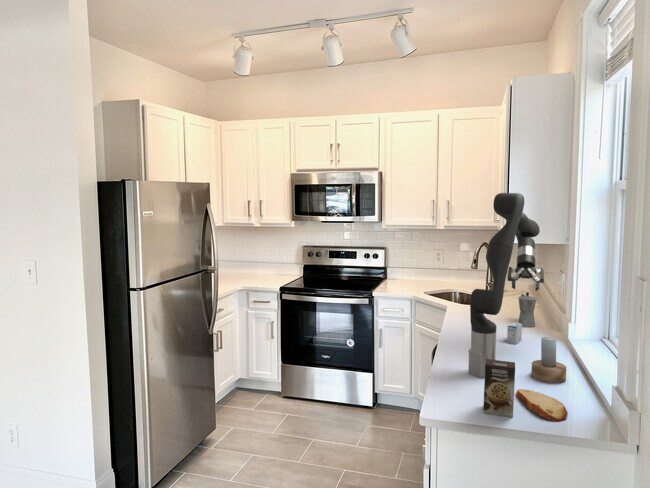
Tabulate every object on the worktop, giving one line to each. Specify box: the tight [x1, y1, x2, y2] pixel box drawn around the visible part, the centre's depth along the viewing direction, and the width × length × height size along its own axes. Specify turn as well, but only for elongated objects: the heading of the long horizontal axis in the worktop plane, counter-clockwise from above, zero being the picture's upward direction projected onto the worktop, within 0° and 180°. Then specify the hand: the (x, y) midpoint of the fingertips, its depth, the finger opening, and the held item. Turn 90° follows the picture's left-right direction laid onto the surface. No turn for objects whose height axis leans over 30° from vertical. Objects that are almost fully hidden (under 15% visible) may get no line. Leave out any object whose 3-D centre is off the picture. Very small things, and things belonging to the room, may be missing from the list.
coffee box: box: [482, 359, 516, 418], centre depth 152 cm, size 9×6×16 cm
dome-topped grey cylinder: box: [540, 336, 557, 367], centre depth 181 cm, size 5×5×10 cm
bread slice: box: [514, 388, 568, 423], centre depth 156 cm, size 18×18×4 cm
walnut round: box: [530, 359, 567, 384], centre depth 181 cm, size 12×12×5 cm
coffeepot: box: [517, 292, 537, 329], centre depth 256 cm, size 15×9×18 cm, turn 176°
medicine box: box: [506, 321, 523, 345], centre depth 226 cm, size 8×4×9 cm, turn 141°
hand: (525, 289), depth 198 cm, fingers open, 8 cm apart
